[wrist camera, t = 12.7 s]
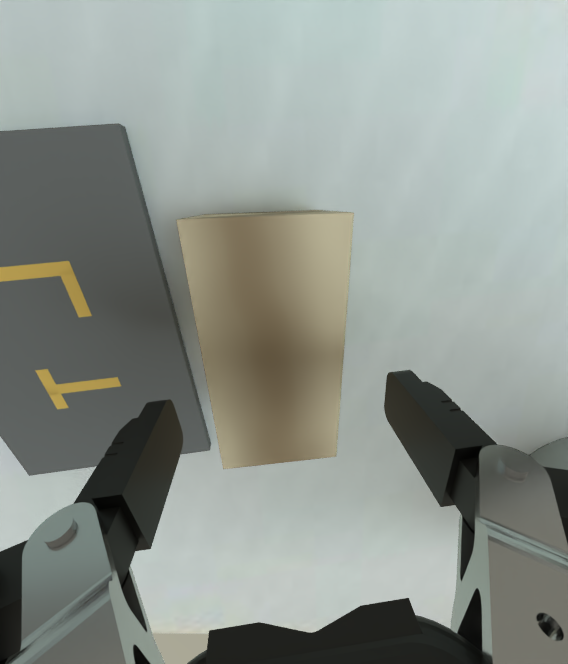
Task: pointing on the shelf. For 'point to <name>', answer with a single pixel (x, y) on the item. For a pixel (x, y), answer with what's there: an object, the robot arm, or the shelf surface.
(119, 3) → the shelf surface
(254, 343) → the maple block
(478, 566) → the robot arm
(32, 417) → the picture tile
